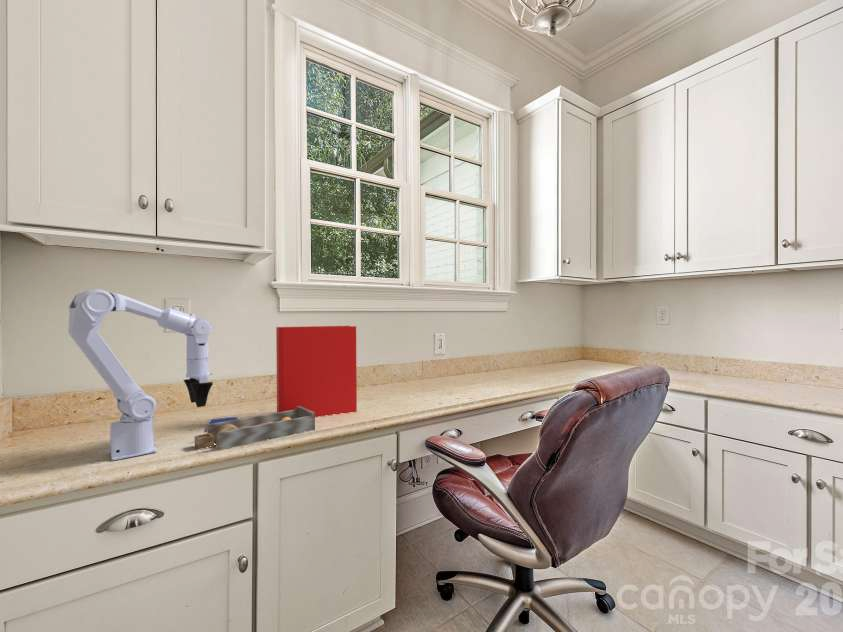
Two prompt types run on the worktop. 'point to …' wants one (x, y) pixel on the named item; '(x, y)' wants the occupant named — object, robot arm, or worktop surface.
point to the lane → (261, 427)
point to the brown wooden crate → (204, 440)
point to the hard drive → (222, 420)
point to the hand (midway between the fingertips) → (198, 404)
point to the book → (316, 369)
